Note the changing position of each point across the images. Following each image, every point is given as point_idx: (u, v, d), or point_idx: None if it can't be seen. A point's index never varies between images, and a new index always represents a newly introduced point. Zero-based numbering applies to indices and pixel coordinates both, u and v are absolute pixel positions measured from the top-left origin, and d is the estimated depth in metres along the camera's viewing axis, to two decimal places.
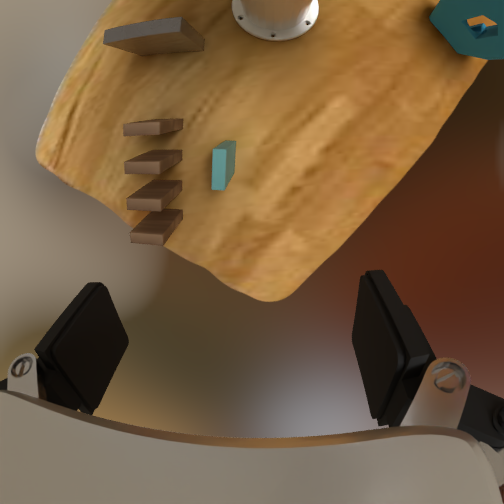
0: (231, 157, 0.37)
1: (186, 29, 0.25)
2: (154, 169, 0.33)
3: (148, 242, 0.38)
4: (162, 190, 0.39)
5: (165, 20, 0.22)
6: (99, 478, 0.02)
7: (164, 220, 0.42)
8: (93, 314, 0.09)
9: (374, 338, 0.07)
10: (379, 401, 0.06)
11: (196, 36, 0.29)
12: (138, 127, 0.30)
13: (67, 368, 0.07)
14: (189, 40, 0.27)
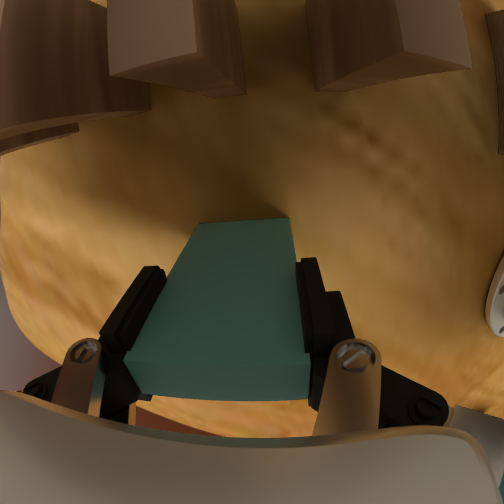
0: None
1: None
2: (137, 32, 0.03)
3: None
4: (85, 82, 0.07)
5: None
6: (99, 478, 0.02)
7: None
8: (154, 296, 0.09)
9: None
10: None
11: None
12: None
13: None
14: None
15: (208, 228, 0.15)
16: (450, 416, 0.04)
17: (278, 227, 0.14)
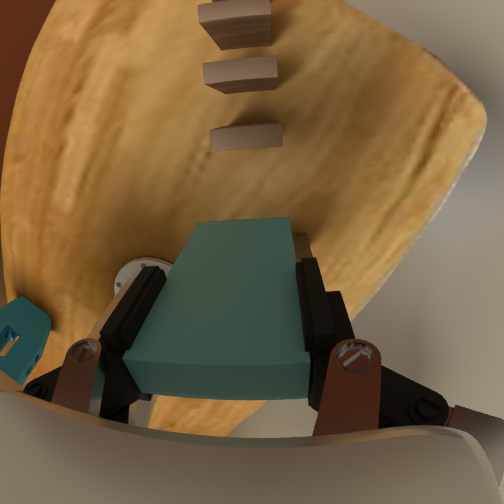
0: None
1: None
2: (212, 69, 0.16)
3: None
4: (224, 34, 0.18)
5: None
6: (99, 478, 0.02)
7: None
8: (154, 296, 0.09)
9: None
10: None
11: None
12: (251, 140, 0.19)
13: None
14: None
15: (207, 227, 0.15)
16: (451, 416, 0.04)
17: (278, 226, 0.14)
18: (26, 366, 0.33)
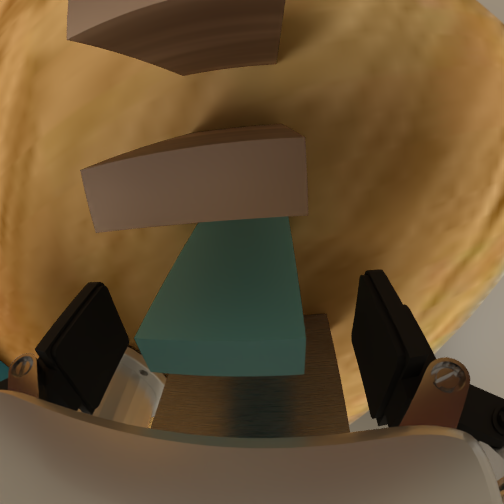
0: None
1: None
2: None
3: None
4: None
5: None
6: (99, 478, 0.02)
7: None
8: (93, 314, 0.09)
9: (374, 338, 0.07)
10: (379, 401, 0.06)
11: None
12: (200, 195, 0.06)
13: (67, 368, 0.07)
14: (163, 398, 0.14)
15: None
16: None
17: (277, 219, 0.15)
18: None
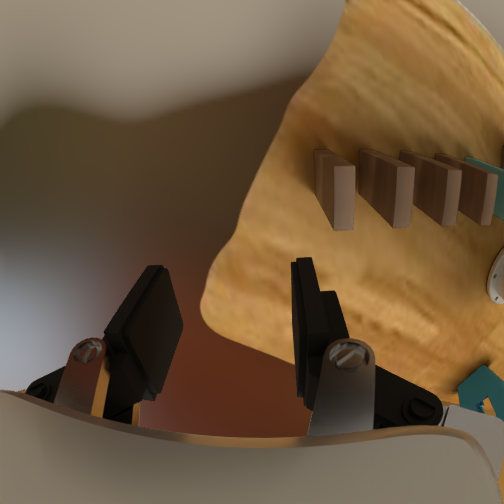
0: None
1: None
2: (447, 219, 0.20)
3: (337, 203, 0.20)
4: None
5: None
6: (99, 478, 0.02)
7: None
8: (158, 295, 0.09)
9: (295, 319, 0.08)
10: (297, 379, 0.08)
11: None
12: (491, 196, 0.19)
13: (138, 350, 0.07)
14: None
15: None
16: (445, 416, 0.05)
17: None
18: None
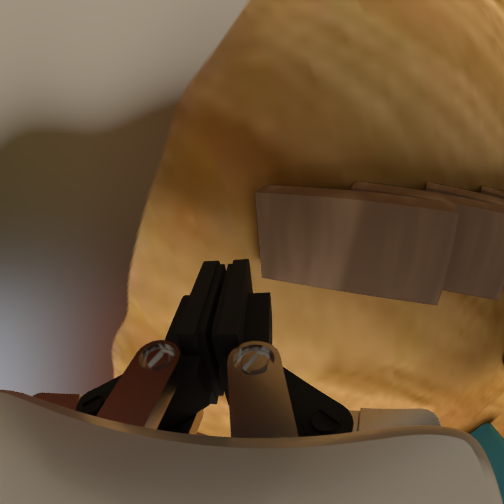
0: None
1: None
2: None
3: (447, 265, 0.11)
4: None
5: None
6: (99, 478, 0.02)
7: None
8: (220, 292, 0.09)
9: None
10: None
11: None
12: None
13: (210, 351, 0.07)
14: None
15: None
16: (358, 421, 0.05)
17: None
18: None
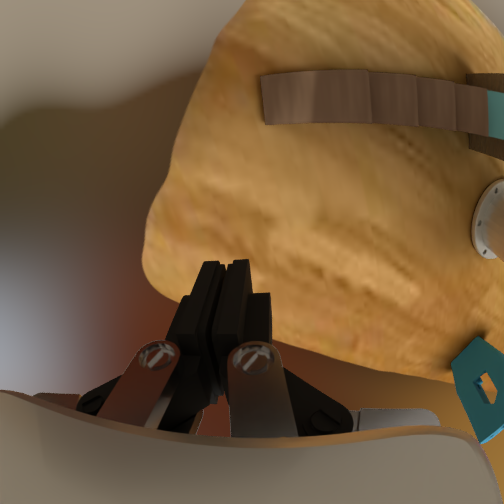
0: None
1: None
2: None
3: (370, 99, 0.21)
4: None
5: None
6: (99, 478, 0.02)
7: None
8: (220, 292, 0.09)
9: None
10: None
11: None
12: None
13: (210, 351, 0.07)
14: None
15: None
16: (358, 421, 0.05)
17: None
18: None
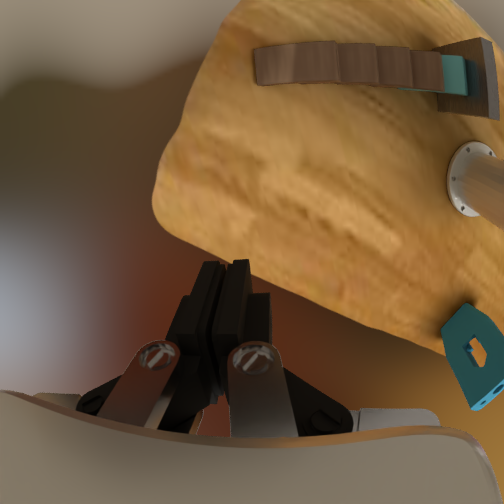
0: None
1: (482, 117, 0.22)
2: (412, 81, 0.25)
3: (337, 62, 0.26)
4: None
5: (497, 104, 0.19)
6: (99, 478, 0.02)
7: None
8: (220, 292, 0.09)
9: None
10: None
11: (461, 114, 0.26)
12: (442, 70, 0.22)
13: (210, 351, 0.07)
14: (465, 112, 0.24)
15: None
16: (358, 421, 0.05)
17: None
18: (500, 333, 0.34)
